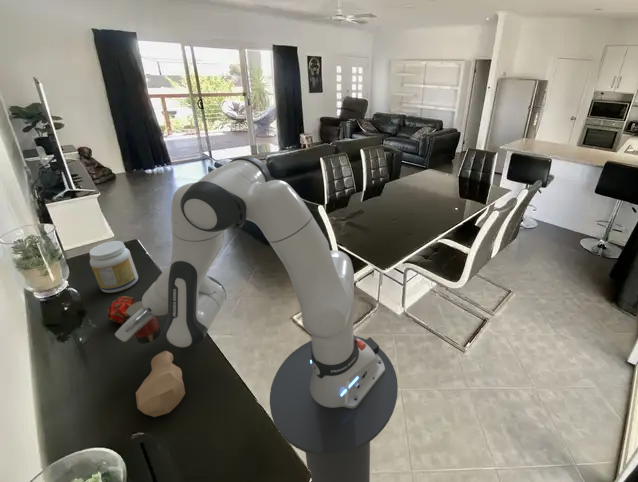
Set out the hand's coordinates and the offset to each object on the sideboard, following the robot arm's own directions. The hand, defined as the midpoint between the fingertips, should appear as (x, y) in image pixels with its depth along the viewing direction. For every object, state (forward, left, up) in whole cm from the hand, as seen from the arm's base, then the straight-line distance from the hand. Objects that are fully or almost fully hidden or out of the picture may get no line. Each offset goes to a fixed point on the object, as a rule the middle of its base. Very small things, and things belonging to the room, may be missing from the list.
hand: (141, 320), depth 95 cm
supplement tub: (+3, -44, -11) cm, 45 cm away
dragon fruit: (+4, -20, -11) cm, 23 cm away
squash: (+1, +18, -11) cm, 21 cm away
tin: (0, +1, -6) cm, 6 cm away
